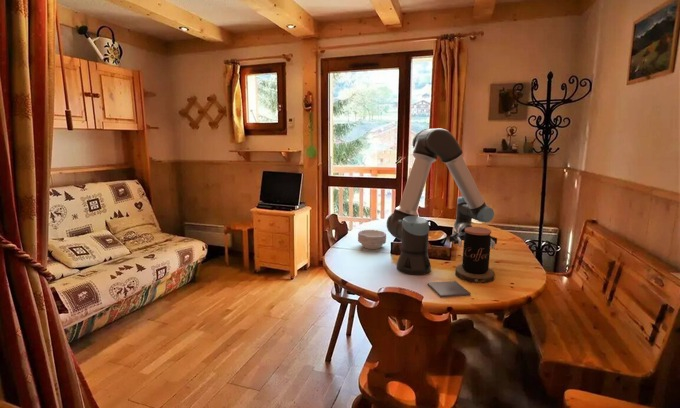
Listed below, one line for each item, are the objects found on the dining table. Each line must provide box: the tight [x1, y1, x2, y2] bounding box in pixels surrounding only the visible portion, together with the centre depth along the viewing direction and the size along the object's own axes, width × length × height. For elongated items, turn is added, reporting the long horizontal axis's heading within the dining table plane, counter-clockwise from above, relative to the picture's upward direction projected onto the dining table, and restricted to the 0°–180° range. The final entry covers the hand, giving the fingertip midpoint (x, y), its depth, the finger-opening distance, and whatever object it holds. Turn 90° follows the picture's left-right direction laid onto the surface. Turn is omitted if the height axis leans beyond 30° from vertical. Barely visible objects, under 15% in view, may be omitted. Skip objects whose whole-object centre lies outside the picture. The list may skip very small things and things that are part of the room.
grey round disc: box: [454, 264, 496, 284], centre depth 155 cm, size 16×16×3 cm
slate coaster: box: [427, 280, 472, 299], centre depth 140 cm, size 12×12×1 cm
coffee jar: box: [461, 226, 492, 274], centre depth 153 cm, size 11×11×18 cm
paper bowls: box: [357, 229, 387, 250], centre depth 195 cm, size 15×15×8 cm
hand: (477, 244), depth 152 cm, fingers open, 13 cm apart
